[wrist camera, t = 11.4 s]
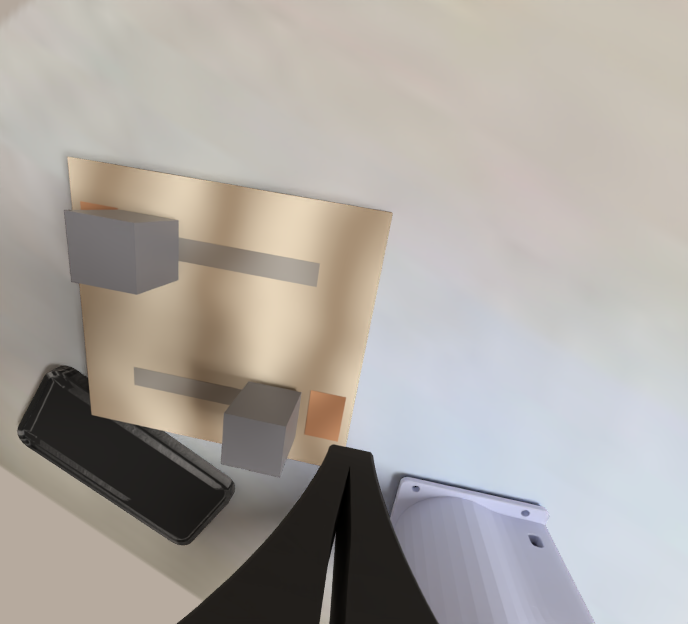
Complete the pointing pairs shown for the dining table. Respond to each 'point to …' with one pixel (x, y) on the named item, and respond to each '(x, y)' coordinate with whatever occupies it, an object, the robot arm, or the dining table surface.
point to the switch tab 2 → (260, 428)
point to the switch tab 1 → (122, 249)
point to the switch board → (233, 306)
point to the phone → (124, 459)
